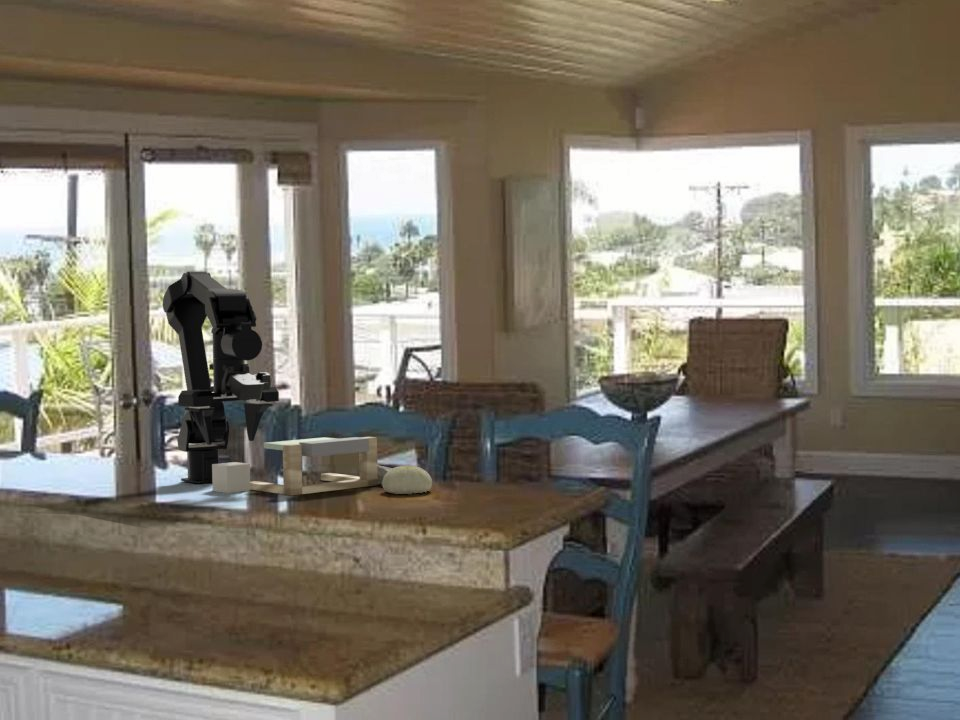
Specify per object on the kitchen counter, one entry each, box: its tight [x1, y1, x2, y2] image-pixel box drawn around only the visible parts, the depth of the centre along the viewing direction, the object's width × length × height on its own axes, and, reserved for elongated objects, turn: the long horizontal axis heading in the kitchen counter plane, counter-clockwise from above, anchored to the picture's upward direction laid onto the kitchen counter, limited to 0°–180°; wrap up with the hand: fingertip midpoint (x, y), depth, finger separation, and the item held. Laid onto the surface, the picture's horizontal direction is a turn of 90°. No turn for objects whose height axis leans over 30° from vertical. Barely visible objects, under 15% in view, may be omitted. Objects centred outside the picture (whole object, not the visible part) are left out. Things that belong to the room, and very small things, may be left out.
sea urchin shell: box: [381, 465, 433, 495], centre depth 282 cm, size 9×8×8 cm
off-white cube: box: [211, 461, 251, 494], centre depth 288 cm, size 5×5×5 cm
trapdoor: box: [263, 436, 369, 458], centre depth 290 cm, size 15×14×2 cm
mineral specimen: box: [377, 463, 393, 485], centre depth 294 cm, size 6×12×4 cm, turn 33°
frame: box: [250, 436, 379, 496], centre depth 291 cm, size 15×20×9 cm
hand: (230, 442), depth 288 cm, fingers open, 9 cm apart
